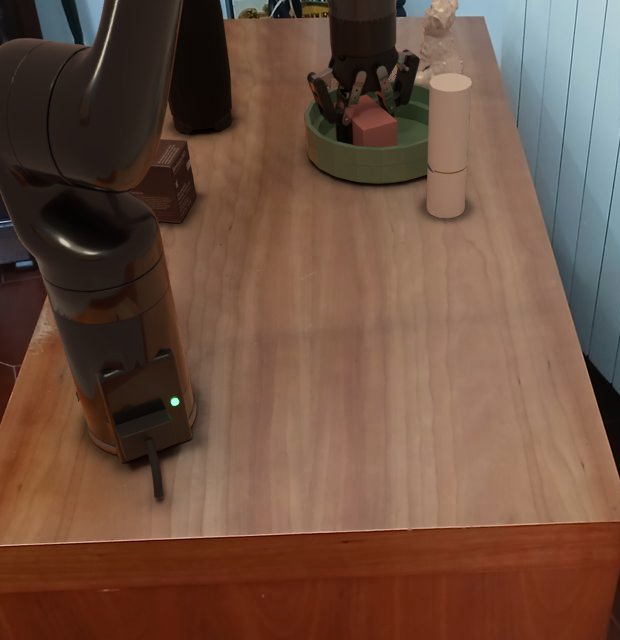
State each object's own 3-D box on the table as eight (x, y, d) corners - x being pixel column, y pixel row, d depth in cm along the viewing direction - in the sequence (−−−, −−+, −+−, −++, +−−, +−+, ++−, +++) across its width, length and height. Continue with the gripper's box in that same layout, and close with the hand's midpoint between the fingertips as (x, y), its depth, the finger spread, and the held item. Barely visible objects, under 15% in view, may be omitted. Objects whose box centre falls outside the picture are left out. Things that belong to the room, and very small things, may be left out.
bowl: (482, 163, 111) (484, 125, 108) (346, 202, 106) (345, 163, 102) (409, 103, 124) (409, 68, 120) (284, 136, 118) (281, 99, 115)
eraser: (397, 158, 111) (397, 120, 108) (364, 168, 110) (363, 130, 107) (367, 131, 117) (366, 94, 114) (335, 139, 116) (333, 102, 112)
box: (180, 224, 103) (170, 167, 99) (130, 220, 104) (117, 163, 100) (197, 196, 108) (188, 139, 103) (149, 192, 109) (138, 136, 104)
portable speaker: (227, 101, 126) (209, -46, 113) (242, 132, 119) (225, -22, 107) (165, 112, 124) (139, -37, 112) (177, 144, 118) (151, -11, 105)
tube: (472, 206, 104) (480, 80, 94) (448, 222, 102) (454, 95, 92) (442, 193, 106) (447, 69, 96) (418, 209, 104) (421, 83, 94)
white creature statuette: (416, 64, 133) (418, -20, 125) (473, 73, 130) (478, -13, 122) (391, 92, 127) (390, 4, 119) (450, 102, 124) (454, 13, 116)
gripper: (317, 29, 97) (326, 172, 108) (435, 2, 101) (432, 142, 113) (289, 6, 102) (300, 145, 114) (403, -19, 107) (402, 117, 118)
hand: (366, 143), depth 113 cm, fingers closed on eraser, 4 cm apart
